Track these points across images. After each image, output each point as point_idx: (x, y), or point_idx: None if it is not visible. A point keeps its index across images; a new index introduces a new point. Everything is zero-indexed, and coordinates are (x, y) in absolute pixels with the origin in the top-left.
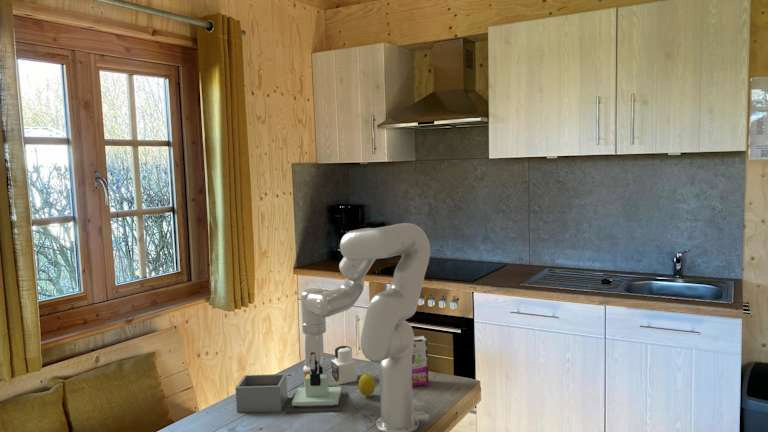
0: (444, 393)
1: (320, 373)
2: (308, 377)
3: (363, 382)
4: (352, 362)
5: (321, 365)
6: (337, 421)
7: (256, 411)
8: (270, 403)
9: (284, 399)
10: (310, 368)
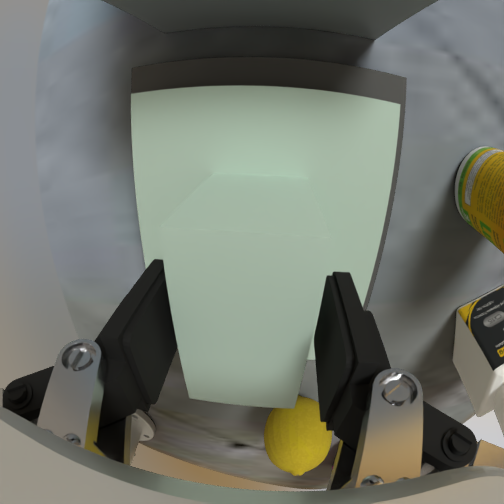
0: (280, 475)
1: (319, 367)
2: (204, 267)
3: (269, 447)
4: (482, 410)
5: (340, 441)
6: (88, 306)
7: None
8: None
9: (284, 20)
10: (45, 399)
